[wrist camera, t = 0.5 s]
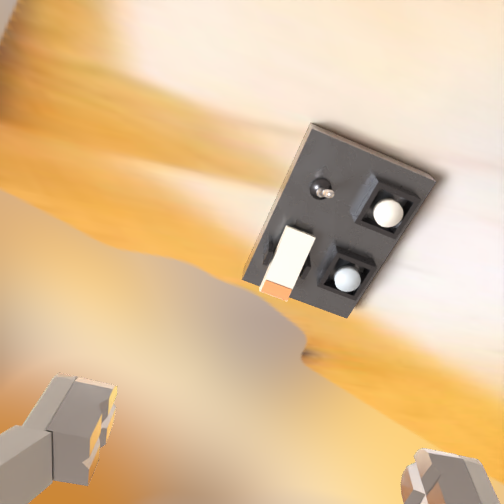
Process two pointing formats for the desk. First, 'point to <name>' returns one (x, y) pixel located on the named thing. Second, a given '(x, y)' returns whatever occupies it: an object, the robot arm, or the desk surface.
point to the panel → (337, 216)
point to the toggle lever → (324, 192)
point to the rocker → (287, 263)
